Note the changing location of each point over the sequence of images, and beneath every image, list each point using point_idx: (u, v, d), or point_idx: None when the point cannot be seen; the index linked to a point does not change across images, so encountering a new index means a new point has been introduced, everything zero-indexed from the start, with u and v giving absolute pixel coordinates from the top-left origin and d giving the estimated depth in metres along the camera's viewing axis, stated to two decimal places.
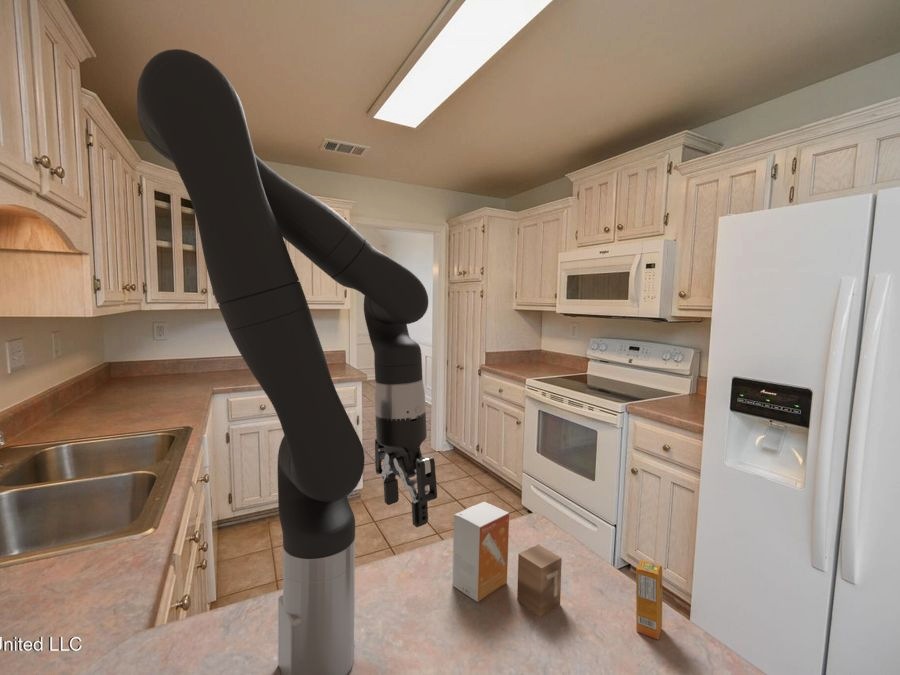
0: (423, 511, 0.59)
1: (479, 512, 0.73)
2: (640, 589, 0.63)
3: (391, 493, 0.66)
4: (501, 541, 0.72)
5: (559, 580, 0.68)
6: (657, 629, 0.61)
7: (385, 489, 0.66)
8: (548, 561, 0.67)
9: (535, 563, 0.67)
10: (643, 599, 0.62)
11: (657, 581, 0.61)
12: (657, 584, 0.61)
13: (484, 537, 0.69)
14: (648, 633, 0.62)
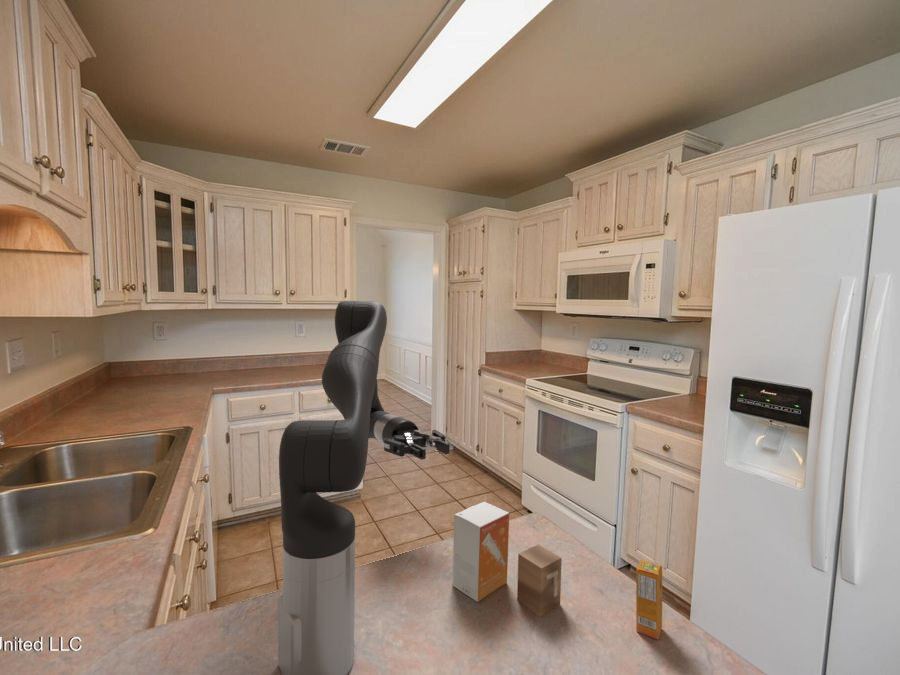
0: None
1: (479, 512, 0.73)
2: (640, 589, 0.63)
3: None
4: (501, 541, 0.72)
5: (559, 580, 0.68)
6: (657, 629, 0.61)
7: (417, 445, 0.84)
8: (548, 561, 0.67)
9: (535, 563, 0.67)
10: (643, 599, 0.62)
11: (657, 581, 0.61)
12: (657, 584, 0.61)
13: (484, 537, 0.69)
14: (648, 633, 0.62)
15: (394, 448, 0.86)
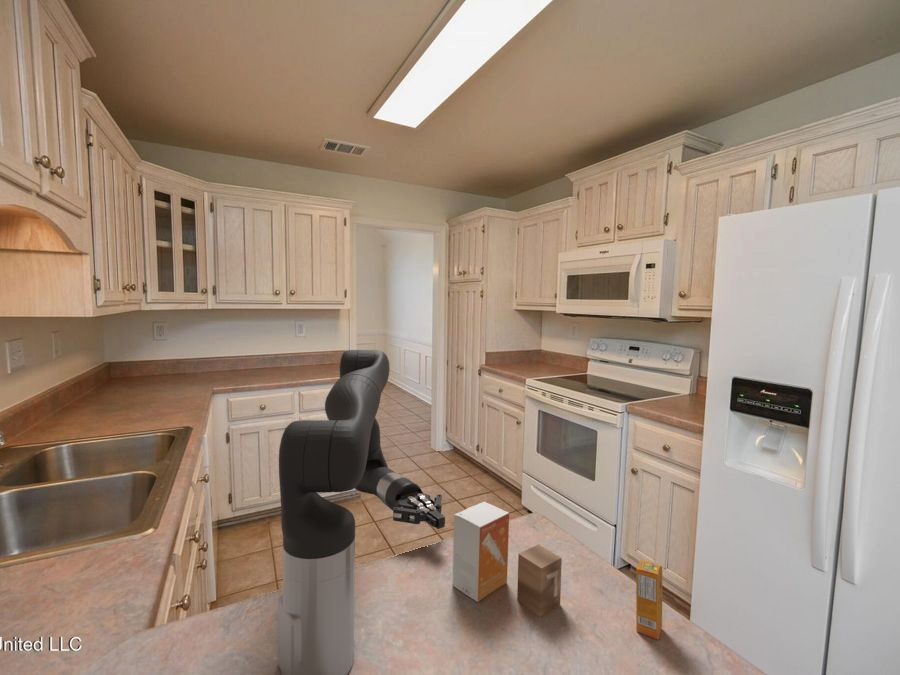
0: None
1: (479, 512, 0.73)
2: (640, 589, 0.63)
3: None
4: (501, 541, 0.72)
5: (559, 580, 0.68)
6: (657, 629, 0.61)
7: (433, 513, 0.85)
8: (548, 561, 0.67)
9: (535, 563, 0.67)
10: (643, 599, 0.62)
11: (657, 581, 0.61)
12: (657, 584, 0.61)
13: (484, 537, 0.69)
14: (648, 633, 0.62)
15: (408, 516, 0.86)
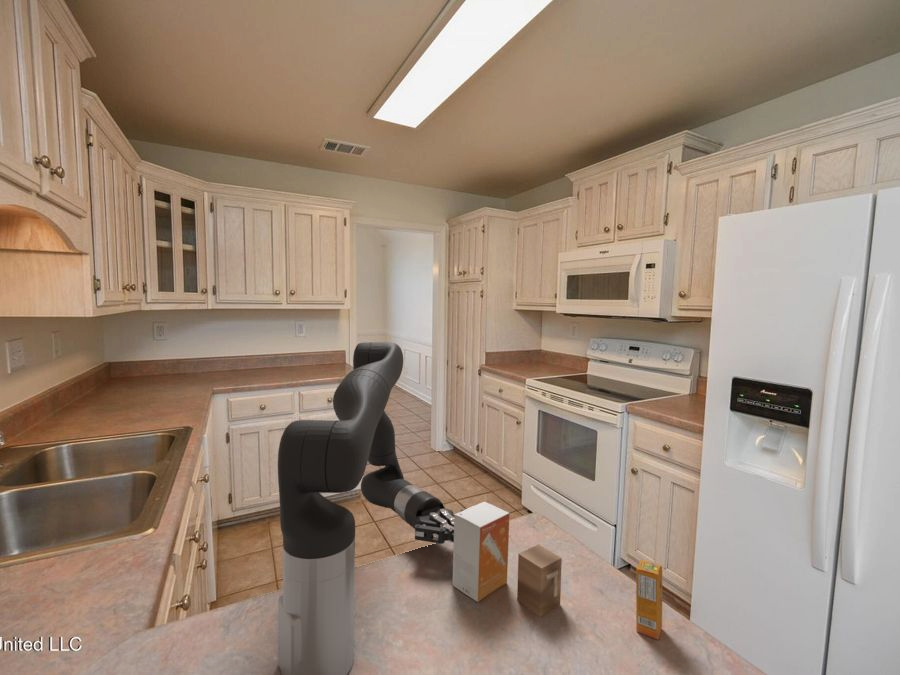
0: None
1: (479, 512, 0.73)
2: (640, 589, 0.63)
3: None
4: (502, 541, 0.72)
5: (559, 580, 0.68)
6: (657, 629, 0.61)
7: None
8: (548, 561, 0.67)
9: (535, 563, 0.67)
10: (643, 599, 0.62)
11: (657, 581, 0.61)
12: (657, 584, 0.61)
13: (484, 537, 0.69)
14: (648, 633, 0.62)
15: (431, 535, 0.79)
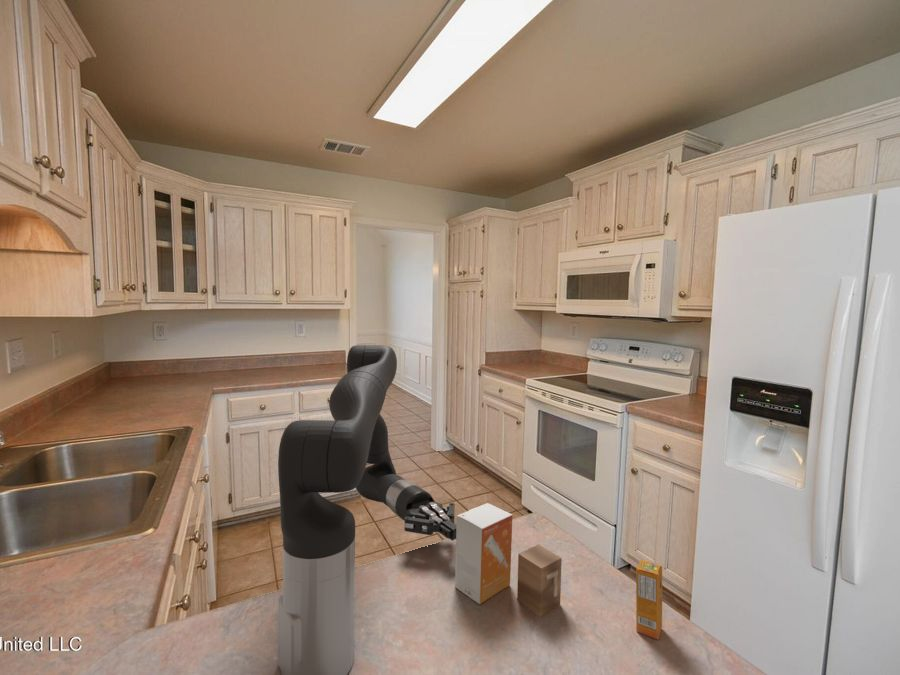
0: None
1: (482, 513, 0.73)
2: (640, 589, 0.63)
3: None
4: (504, 543, 0.72)
5: (559, 580, 0.68)
6: (657, 629, 0.61)
7: (447, 523, 0.81)
8: (548, 561, 0.67)
9: (535, 563, 0.67)
10: (643, 599, 0.62)
11: (657, 581, 0.61)
12: (657, 584, 0.61)
13: (486, 538, 0.68)
14: (648, 633, 0.62)
15: (420, 527, 0.82)
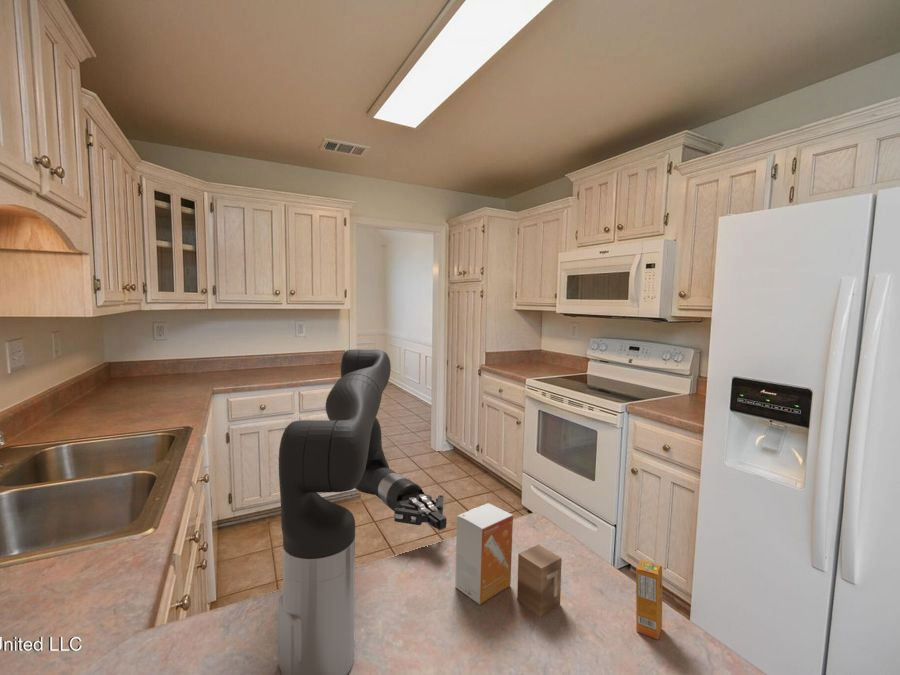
0: None
1: (482, 514, 0.73)
2: (640, 589, 0.63)
3: None
4: (505, 543, 0.72)
5: (559, 580, 0.68)
6: (657, 629, 0.61)
7: (434, 514, 0.84)
8: (548, 561, 0.67)
9: (535, 563, 0.67)
10: (643, 599, 0.62)
11: (657, 581, 0.61)
12: (657, 584, 0.61)
13: (487, 539, 0.68)
14: (648, 633, 0.62)
15: (409, 517, 0.85)
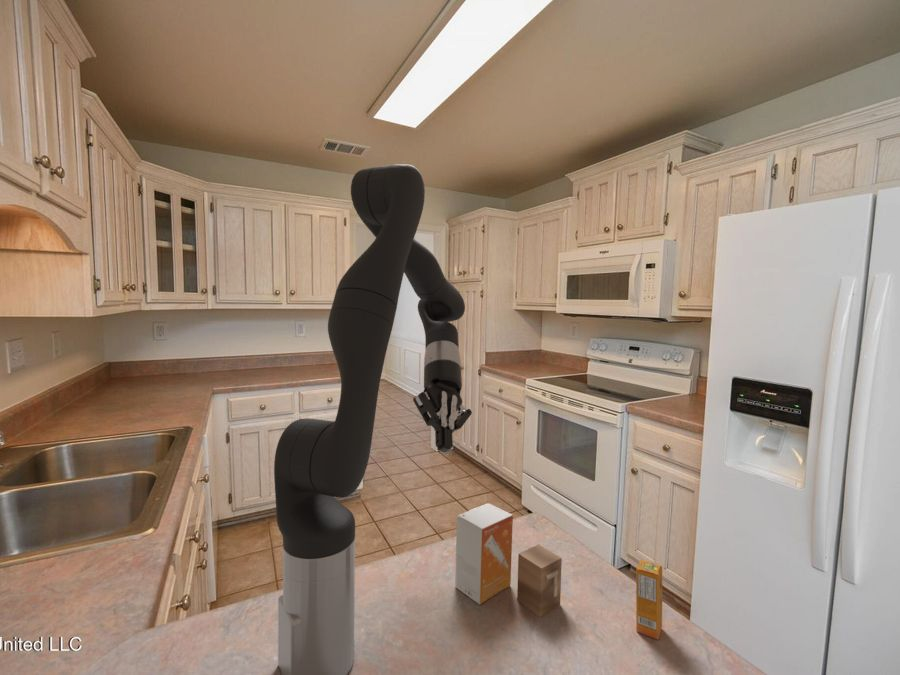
0: None
1: (482, 514, 0.73)
2: (640, 589, 0.63)
3: None
4: (505, 543, 0.72)
5: (559, 580, 0.68)
6: (657, 629, 0.61)
7: (446, 434, 0.74)
8: (548, 561, 0.67)
9: (535, 563, 0.67)
10: (643, 599, 0.62)
11: (657, 581, 0.61)
12: (657, 584, 0.61)
13: (486, 539, 0.68)
14: (648, 633, 0.62)
15: (425, 412, 0.75)
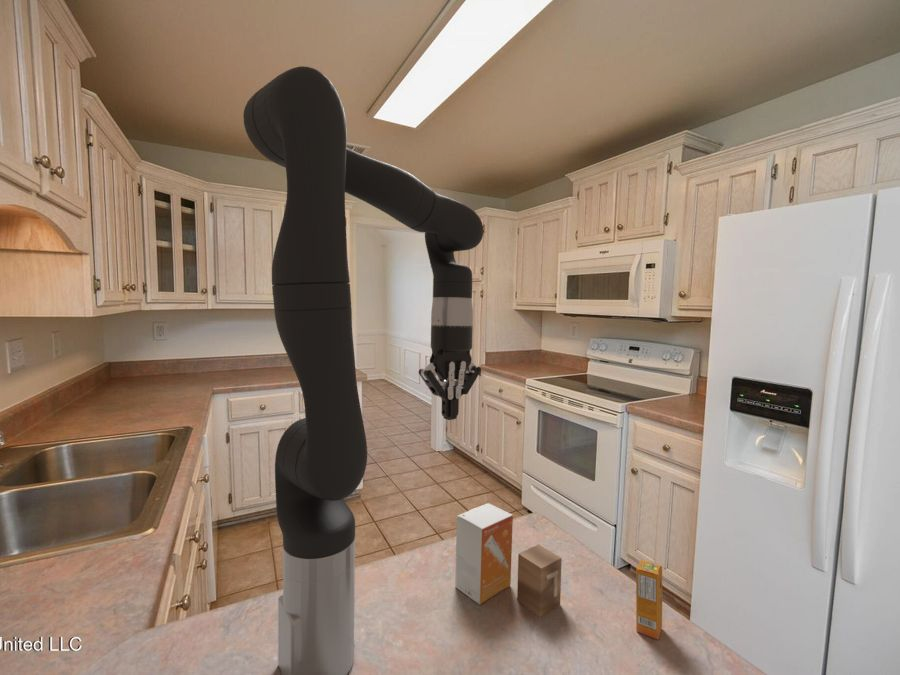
0: None
1: (482, 514, 0.73)
2: (640, 589, 0.63)
3: None
4: (505, 543, 0.72)
5: (559, 580, 0.68)
6: (657, 629, 0.61)
7: (452, 405, 0.74)
8: (548, 561, 0.67)
9: (535, 563, 0.67)
10: (643, 599, 0.62)
11: (657, 581, 0.61)
12: (657, 584, 0.61)
13: (486, 539, 0.68)
14: (648, 633, 0.62)
15: None
